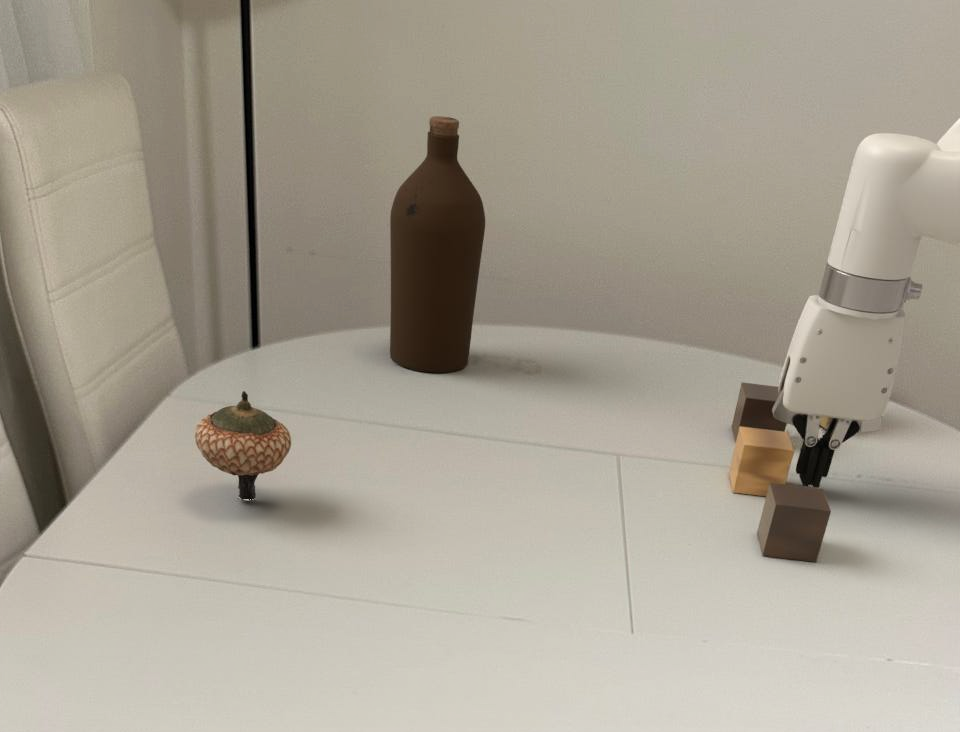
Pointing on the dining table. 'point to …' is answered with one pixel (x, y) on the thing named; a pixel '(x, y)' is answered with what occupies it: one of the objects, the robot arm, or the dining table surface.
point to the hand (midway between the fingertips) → (808, 481)
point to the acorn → (243, 443)
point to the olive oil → (435, 258)
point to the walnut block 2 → (793, 522)
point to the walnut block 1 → (756, 408)
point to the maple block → (760, 460)
